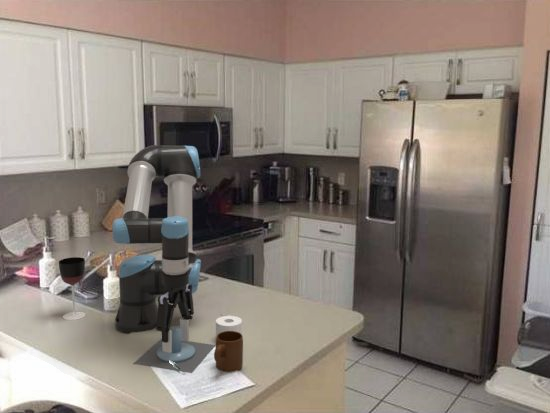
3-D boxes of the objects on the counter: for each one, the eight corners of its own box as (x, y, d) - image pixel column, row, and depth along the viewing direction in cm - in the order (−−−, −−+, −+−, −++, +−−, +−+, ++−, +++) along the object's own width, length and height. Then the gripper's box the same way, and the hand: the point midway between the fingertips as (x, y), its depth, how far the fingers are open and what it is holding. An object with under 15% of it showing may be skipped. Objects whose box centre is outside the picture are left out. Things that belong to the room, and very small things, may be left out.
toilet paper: (225, 330, 166) (225, 311, 165) (246, 342, 158) (247, 321, 157) (204, 337, 161) (205, 317, 159) (226, 349, 153) (226, 328, 151)
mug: (228, 383, 133) (228, 350, 131) (203, 377, 135) (203, 345, 134) (246, 364, 144) (247, 333, 142) (223, 358, 147) (223, 328, 145)
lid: (150, 359, 143) (150, 333, 142) (167, 343, 154) (167, 319, 153) (185, 364, 141) (185, 338, 140) (200, 348, 152) (200, 323, 150)
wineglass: (56, 318, 173) (53, 262, 169) (74, 309, 181) (72, 256, 177) (73, 322, 170) (71, 265, 166) (92, 313, 178) (90, 259, 174)
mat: (132, 365, 141) (132, 363, 141) (162, 339, 158) (162, 337, 158) (191, 374, 137) (191, 372, 137) (215, 346, 154) (215, 345, 154)
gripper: (163, 283, 132) (164, 363, 136) (206, 264, 151) (205, 334, 155) (141, 279, 135) (142, 357, 139) (185, 260, 154) (185, 330, 158)
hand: (176, 345), depth 147 cm, fingers open, 8 cm apart
